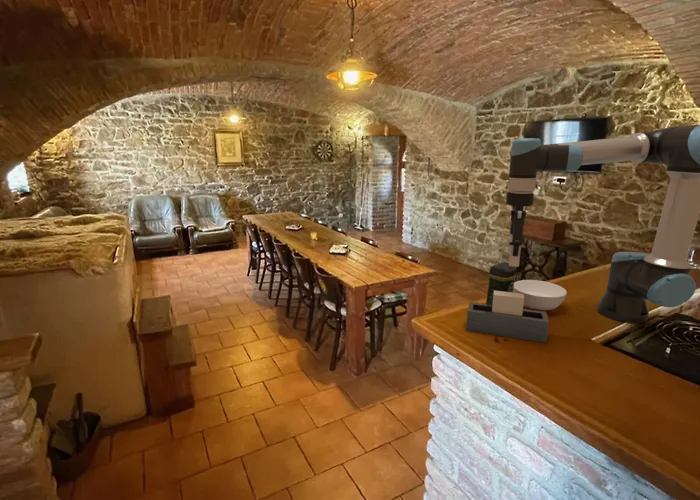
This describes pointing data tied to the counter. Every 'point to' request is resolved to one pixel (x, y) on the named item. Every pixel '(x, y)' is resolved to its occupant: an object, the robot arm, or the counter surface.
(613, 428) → the counter surface
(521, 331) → the grey rectangular trough
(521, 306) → the tall white notched block
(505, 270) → the coffee jar
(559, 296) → the bowl
